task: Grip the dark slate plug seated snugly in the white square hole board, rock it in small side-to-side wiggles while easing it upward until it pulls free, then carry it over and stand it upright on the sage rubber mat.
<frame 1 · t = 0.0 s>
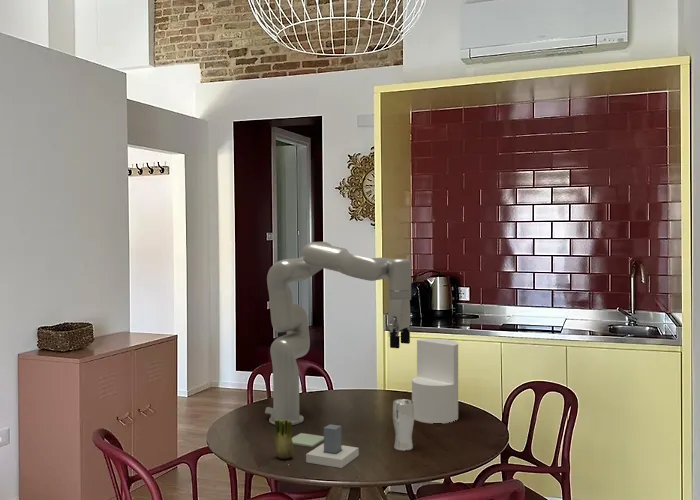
hand: (400, 345, 227), 31 cm above the table, fingers open, 9 cm apart
sage mat: (306, 440, 224), on the table
slate plug: (332, 459, 207), resting in white square hole board
white square hole board: (332, 458, 207), on the table
beer glass: (403, 448, 217), on the table
fennel bulb: (284, 458, 208), on the table
grey stepped cylindrical piece: (435, 417, 252), on the table
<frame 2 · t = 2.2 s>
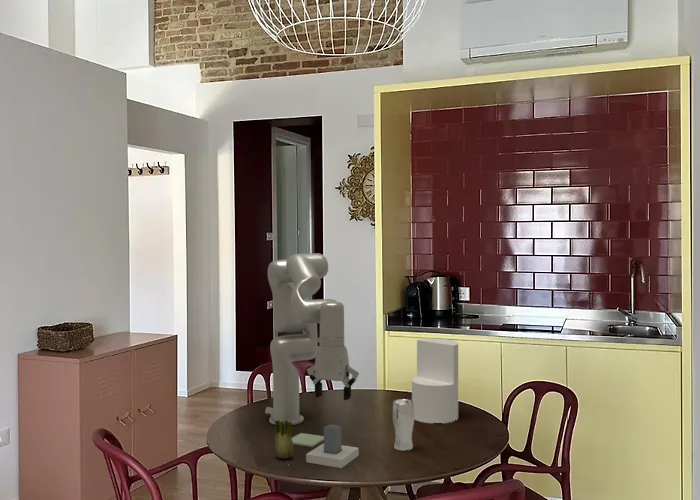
hand: (332, 397, 206), 19 cm above the table, fingers open, 9 cm apart
nothing on the table moved.
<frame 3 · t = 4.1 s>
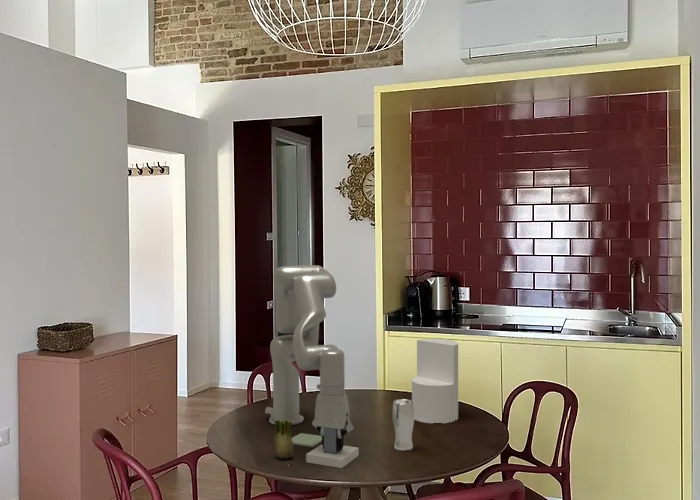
hand: (332, 448, 207), 3 cm above the table, fingers closed on slate plug, 4 cm apart
slate plug: (332, 458, 207), resting in white square hole board, touching gripper
everything else where it was.
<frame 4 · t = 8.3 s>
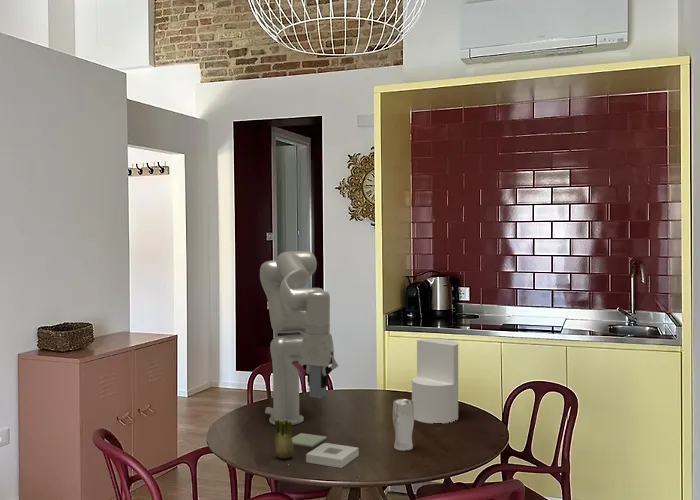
hand: (317, 385, 216), 21 cm above the table, fingers closed on slate plug, 4 cm apart
slate plug: (317, 395, 216), point 17 cm above the table, touching gripper
everything else where it was.
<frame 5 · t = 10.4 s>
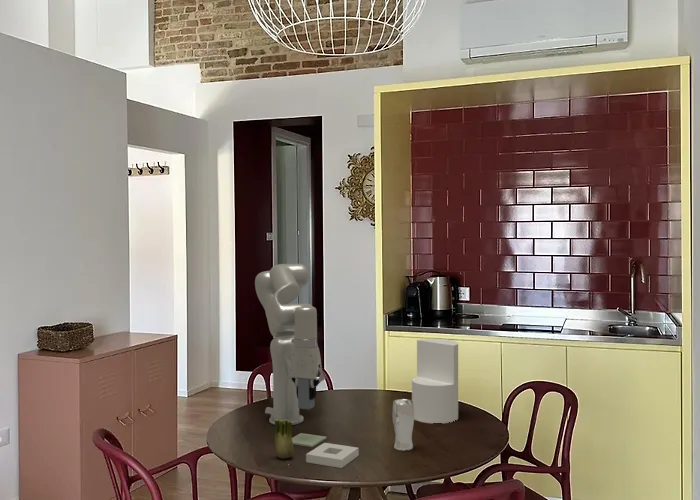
hand: (306, 397, 224), 15 cm above the table, fingers closed on slate plug, 4 cm apart
slate plug: (306, 407, 224), point 11 cm above the table, touching gripper
everything else where it was.
when the fingers open (5 cm above the table, at t = 12.4 s): slate plug stays where it is, resting on sage mat.
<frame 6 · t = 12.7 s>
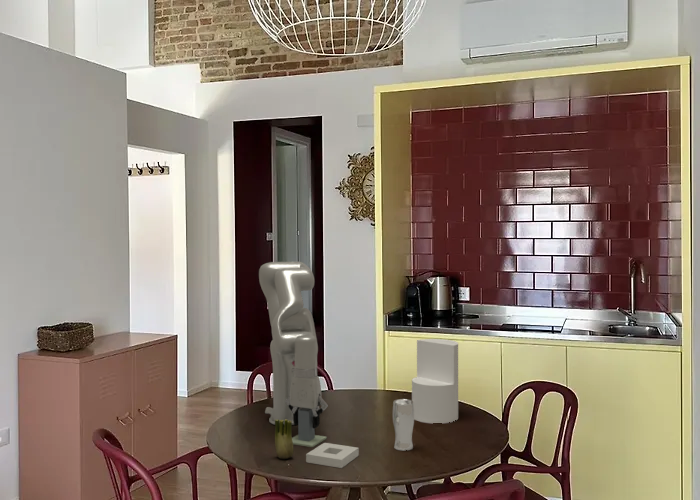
hand: (306, 425, 224), 5 cm above the table, fingers open, 6 cm apart
slate plug: (306, 439, 224), point 1 cm above the table, touching sage mat
everything else where it was.
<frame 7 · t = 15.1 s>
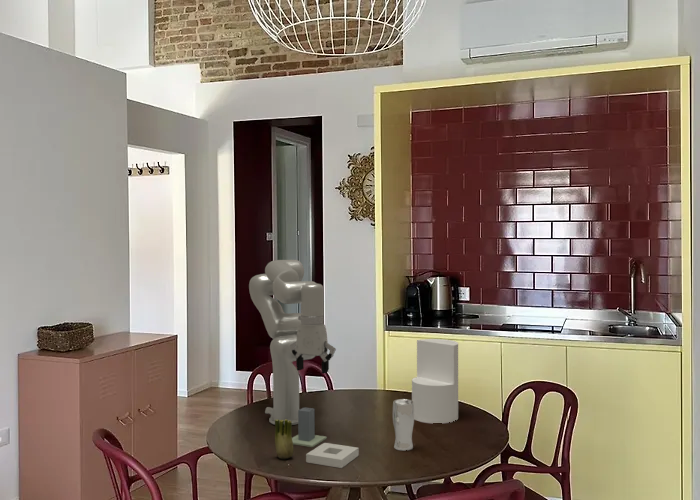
hand: (312, 371, 225), 23 cm above the table, fingers open, 9 cm apart
nothing on the table moved.
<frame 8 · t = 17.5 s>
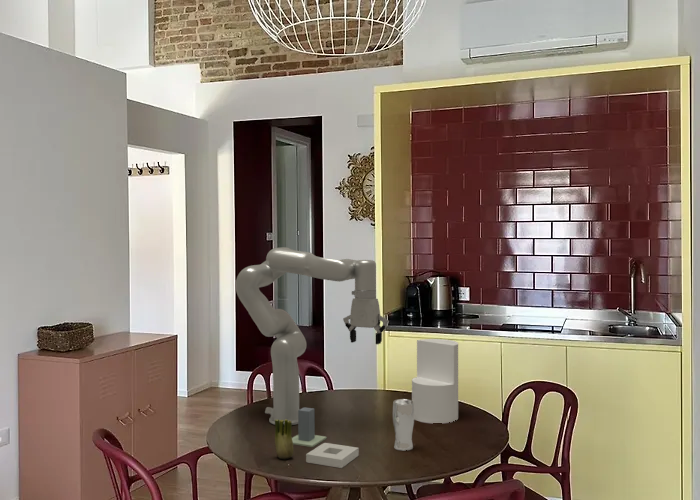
hand: (365, 342, 238), 30 cm above the table, fingers open, 9 cm apart
nothing on the table moved.
at the end: slate plug inside the target area on the sage mat (0.0 cm from its centre), point 0.6 cm above the sage mat's base; slate plug tilted 0°; the gripper is holding nothing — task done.
